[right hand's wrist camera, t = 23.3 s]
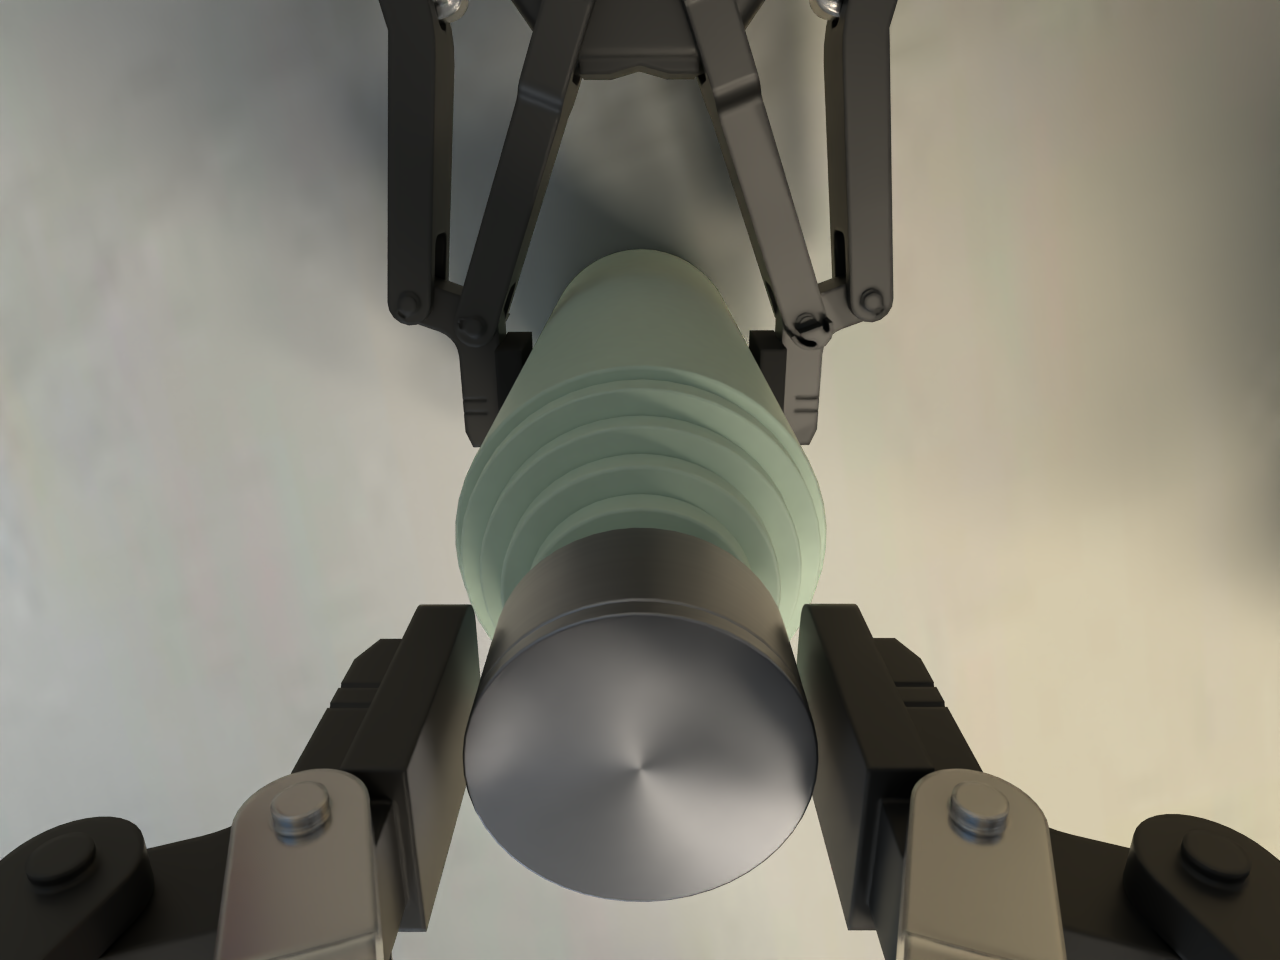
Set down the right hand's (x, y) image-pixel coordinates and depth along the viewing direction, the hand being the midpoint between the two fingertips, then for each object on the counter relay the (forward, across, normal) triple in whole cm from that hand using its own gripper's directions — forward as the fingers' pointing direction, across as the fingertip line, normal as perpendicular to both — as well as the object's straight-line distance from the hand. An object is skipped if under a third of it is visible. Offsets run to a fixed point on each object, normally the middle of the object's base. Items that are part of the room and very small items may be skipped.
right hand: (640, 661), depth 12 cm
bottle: (+22, 0, 0) cm, 22 cm away
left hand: (+15, 0, -5) cm, 16 cm away
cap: (-2, 0, 0) cm, 2 cm away
